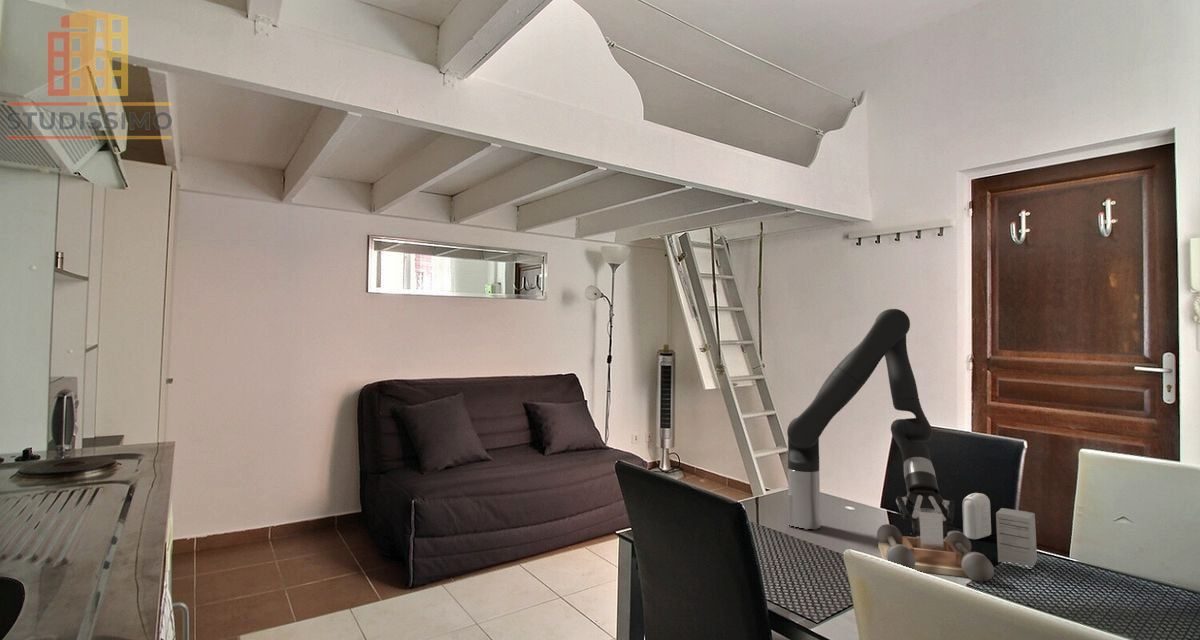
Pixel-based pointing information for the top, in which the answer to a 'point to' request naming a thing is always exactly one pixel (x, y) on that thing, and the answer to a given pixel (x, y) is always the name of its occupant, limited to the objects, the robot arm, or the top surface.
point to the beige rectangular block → (930, 529)
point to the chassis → (935, 555)
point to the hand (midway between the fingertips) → (931, 535)
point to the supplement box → (1016, 537)
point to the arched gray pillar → (976, 516)
